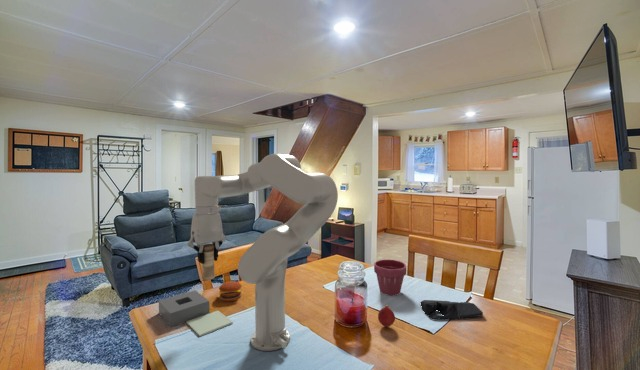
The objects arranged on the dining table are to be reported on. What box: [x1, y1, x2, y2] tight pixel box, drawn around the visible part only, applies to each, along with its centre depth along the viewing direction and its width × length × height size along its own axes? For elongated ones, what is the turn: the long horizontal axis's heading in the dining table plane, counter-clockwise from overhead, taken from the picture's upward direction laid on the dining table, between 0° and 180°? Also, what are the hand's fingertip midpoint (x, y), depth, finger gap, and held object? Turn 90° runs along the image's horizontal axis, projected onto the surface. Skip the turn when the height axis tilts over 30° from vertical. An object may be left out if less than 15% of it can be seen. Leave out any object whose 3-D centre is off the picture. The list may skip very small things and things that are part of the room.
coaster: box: [185, 310, 234, 337], centre depth 107 cm, size 12×12×1 cm
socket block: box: [158, 289, 210, 328], centre depth 114 cm, size 14×14×5 cm
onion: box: [377, 304, 396, 328], centre depth 104 cm, size 6×6×8 cm
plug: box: [201, 243, 215, 281], centre depth 106 cm, size 4×4×12 cm
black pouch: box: [419, 299, 484, 320], centre depth 116 cm, size 15×22×5 cm
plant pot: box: [373, 259, 407, 296], centre depth 134 cm, size 14×14×13 cm
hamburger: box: [218, 280, 243, 303], centre depth 129 cm, size 9×10×7 cm
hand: (208, 260), depth 106 cm, fingers closed on plug, 4 cm apart
